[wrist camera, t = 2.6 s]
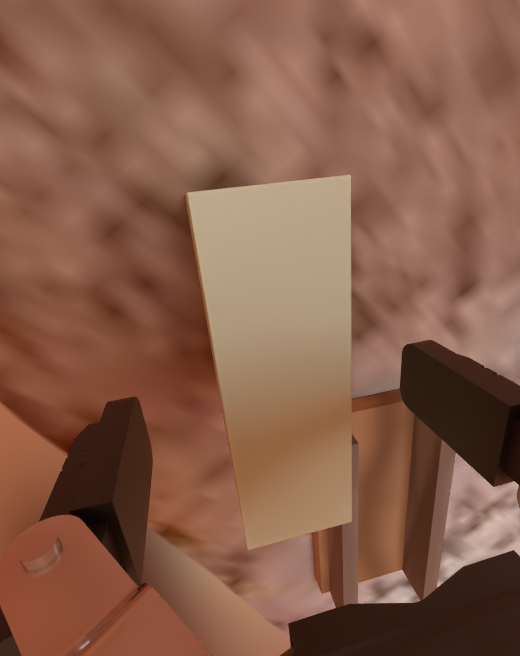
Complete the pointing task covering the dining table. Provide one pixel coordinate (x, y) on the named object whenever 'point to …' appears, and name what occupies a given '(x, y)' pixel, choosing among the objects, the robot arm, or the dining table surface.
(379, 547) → the door track
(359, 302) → the dining table surface
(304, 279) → the door panel
